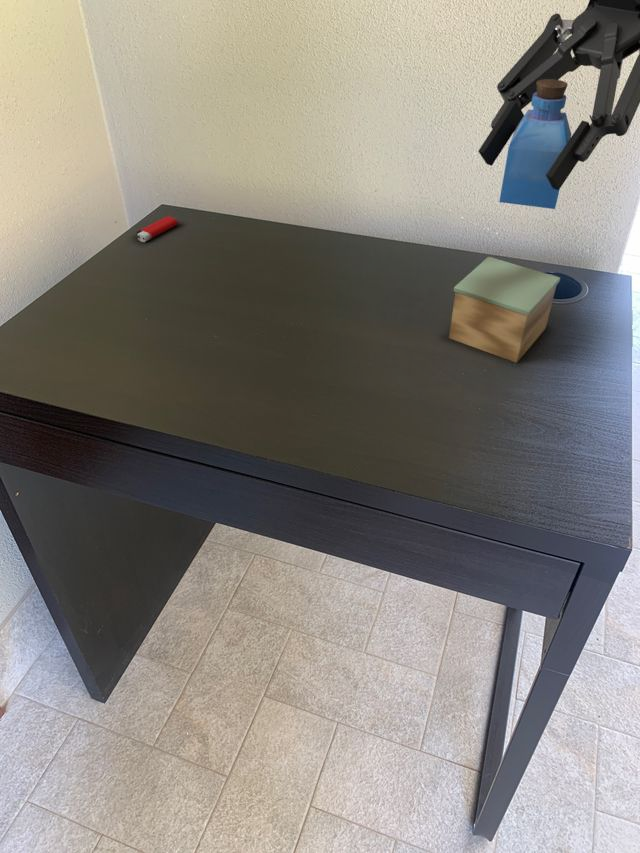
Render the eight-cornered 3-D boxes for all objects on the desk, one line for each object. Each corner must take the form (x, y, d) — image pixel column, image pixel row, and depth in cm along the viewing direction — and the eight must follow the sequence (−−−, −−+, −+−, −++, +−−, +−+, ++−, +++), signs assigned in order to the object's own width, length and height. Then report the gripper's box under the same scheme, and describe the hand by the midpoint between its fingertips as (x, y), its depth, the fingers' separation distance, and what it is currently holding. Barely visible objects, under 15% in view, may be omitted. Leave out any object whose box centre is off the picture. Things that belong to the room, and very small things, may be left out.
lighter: (177, 219, 120) (144, 236, 116) (178, 226, 121) (145, 243, 116) (165, 215, 122) (132, 232, 117) (166, 222, 122) (134, 239, 118)
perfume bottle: (555, 209, 76) (581, 94, 69) (499, 202, 78) (518, 89, 70) (559, 188, 81) (584, 77, 73) (506, 181, 82) (525, 73, 74)
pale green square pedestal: (547, 328, 96) (560, 277, 91) (517, 364, 90) (529, 311, 84) (479, 306, 101) (488, 256, 95) (446, 338, 94) (453, 287, 89)
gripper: (743, 24, 69) (609, 218, 72) (565, -6, 82) (458, 161, 85) (738, -33, 63) (593, 181, 66) (547, -56, 76) (432, 126, 79)
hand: (517, 170), depth 75 cm, fingers closed on perfume bottle, 8 cm apart
